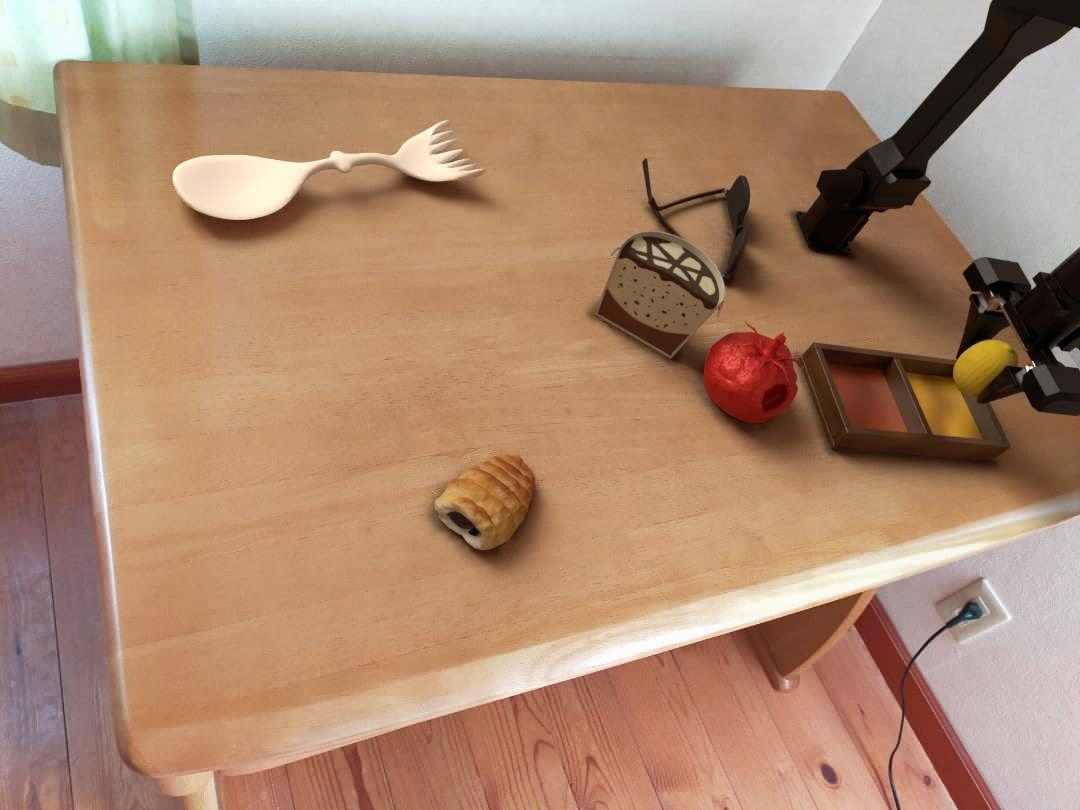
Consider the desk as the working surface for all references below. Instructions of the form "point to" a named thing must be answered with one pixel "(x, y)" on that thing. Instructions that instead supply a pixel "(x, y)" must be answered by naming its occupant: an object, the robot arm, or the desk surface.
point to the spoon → (304, 175)
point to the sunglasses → (736, 207)
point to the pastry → (487, 501)
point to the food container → (661, 290)
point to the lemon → (982, 365)
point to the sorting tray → (898, 404)
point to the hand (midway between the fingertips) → (969, 381)
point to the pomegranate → (751, 375)
